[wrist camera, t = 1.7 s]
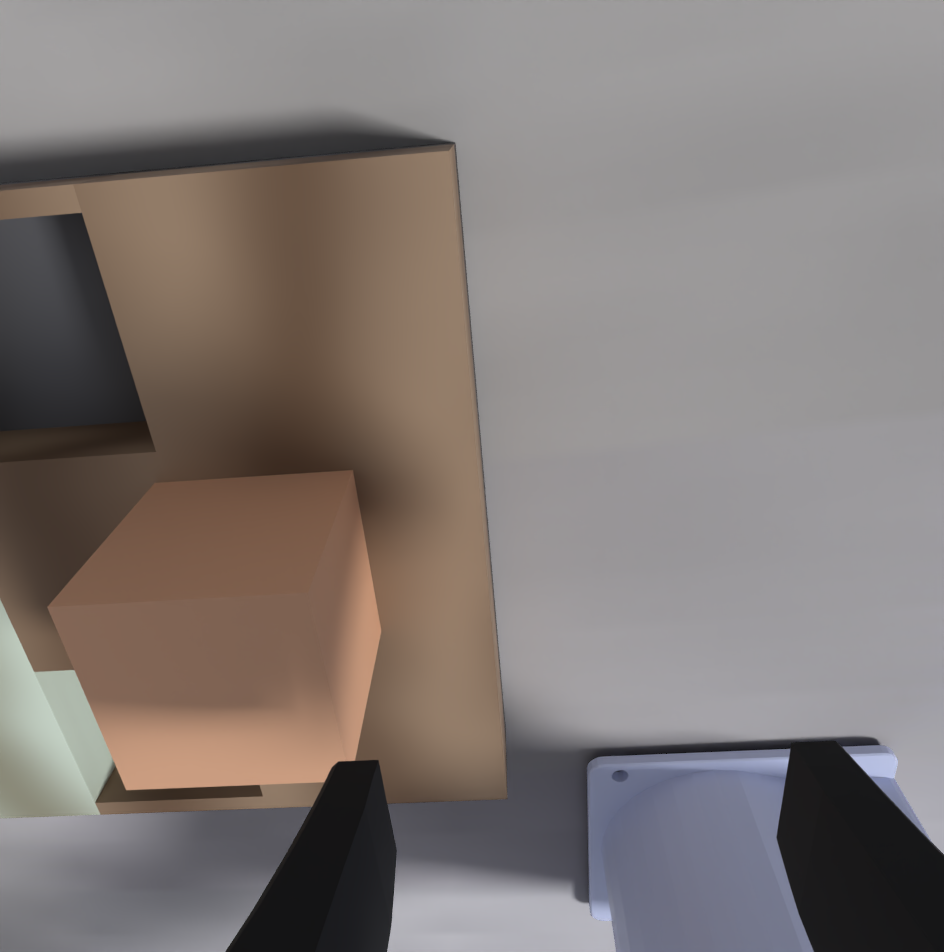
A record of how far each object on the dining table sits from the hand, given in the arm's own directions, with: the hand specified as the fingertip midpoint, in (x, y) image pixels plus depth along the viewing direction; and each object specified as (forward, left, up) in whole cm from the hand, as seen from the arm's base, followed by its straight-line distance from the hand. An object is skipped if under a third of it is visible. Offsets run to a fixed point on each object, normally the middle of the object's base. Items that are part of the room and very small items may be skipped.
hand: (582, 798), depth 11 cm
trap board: (+10, 0, -9) cm, 13 cm away
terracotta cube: (+7, 0, -7) cm, 9 cm away
